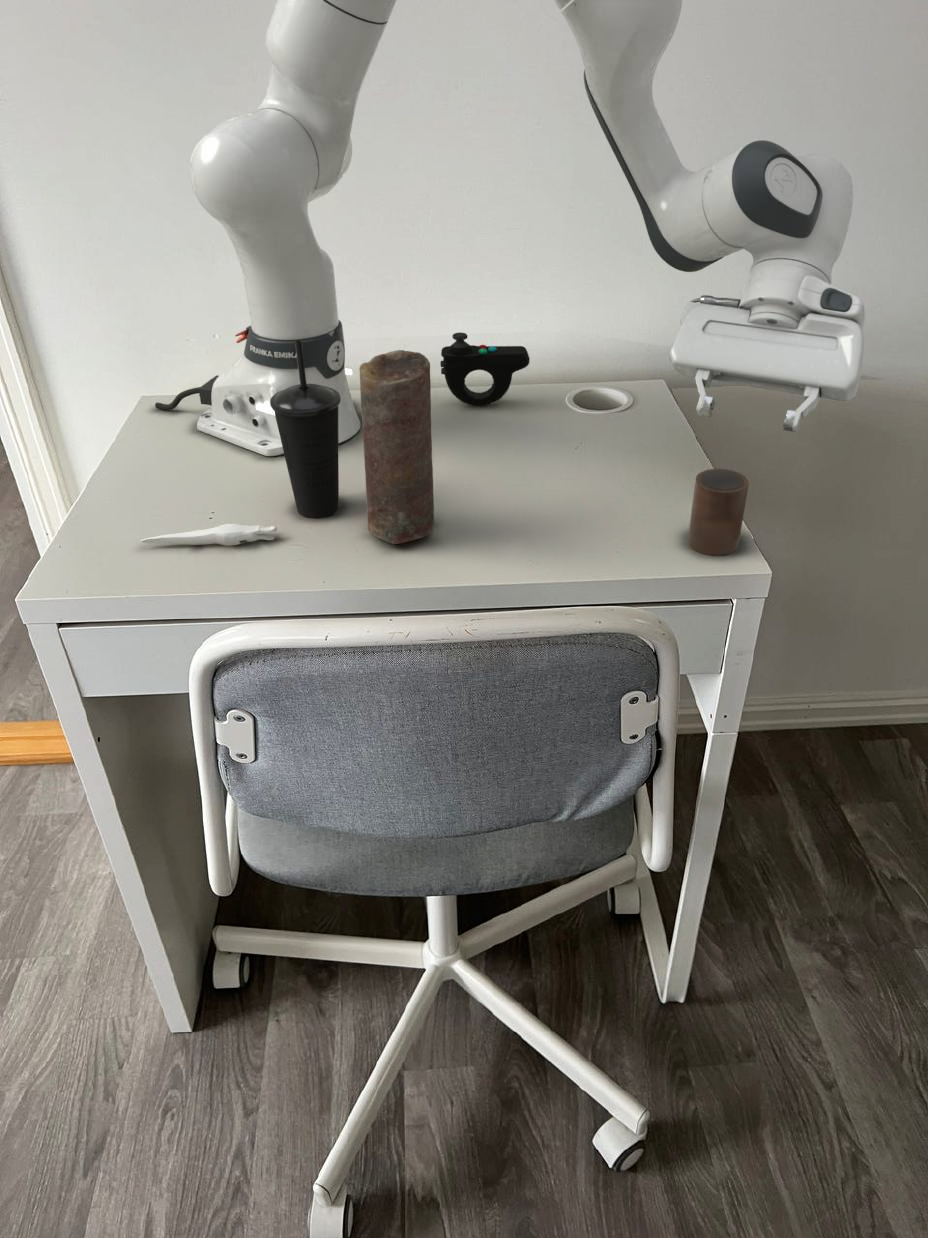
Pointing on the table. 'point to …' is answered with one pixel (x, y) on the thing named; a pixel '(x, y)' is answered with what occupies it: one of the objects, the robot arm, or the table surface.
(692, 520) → the pencil cup
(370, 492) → the brown stone cylinder
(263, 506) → the table surface
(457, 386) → the controller
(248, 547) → the table surface
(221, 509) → the table surface
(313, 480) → the drinking cup
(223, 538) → the white toy lizard
